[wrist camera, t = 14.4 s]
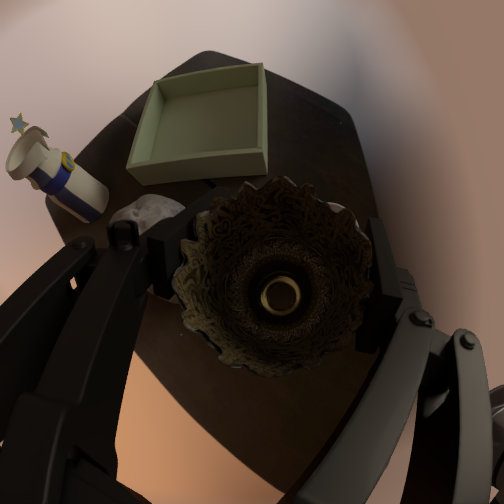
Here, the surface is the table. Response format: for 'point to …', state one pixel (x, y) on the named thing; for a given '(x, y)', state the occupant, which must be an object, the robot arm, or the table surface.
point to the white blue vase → (55, 174)
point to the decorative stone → (149, 217)
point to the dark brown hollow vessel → (274, 277)
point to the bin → (203, 127)
